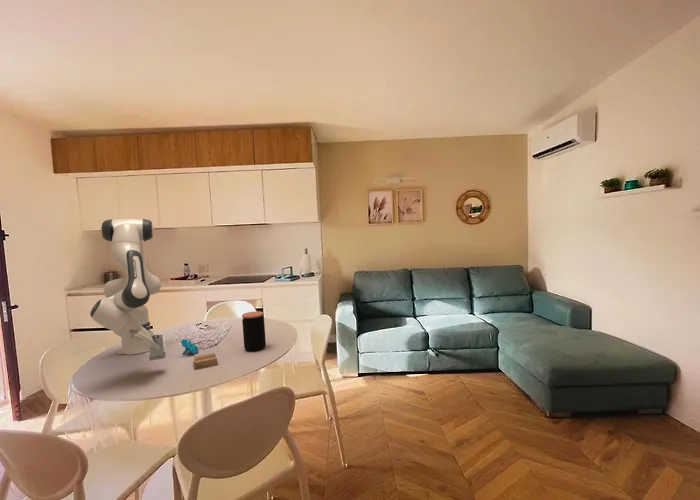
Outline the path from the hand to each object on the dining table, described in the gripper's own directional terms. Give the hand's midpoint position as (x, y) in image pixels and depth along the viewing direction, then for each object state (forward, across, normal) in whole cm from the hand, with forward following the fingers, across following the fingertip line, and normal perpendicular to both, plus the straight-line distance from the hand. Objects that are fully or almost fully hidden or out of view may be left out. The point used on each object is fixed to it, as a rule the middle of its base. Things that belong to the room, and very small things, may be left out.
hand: (158, 345), depth 156 cm
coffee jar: (+39, -1, -22) cm, 45 cm away
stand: (+21, -4, -4) cm, 22 cm away
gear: (+20, +16, -3) cm, 26 cm away
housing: (+3, 0, +4) cm, 5 cm away
